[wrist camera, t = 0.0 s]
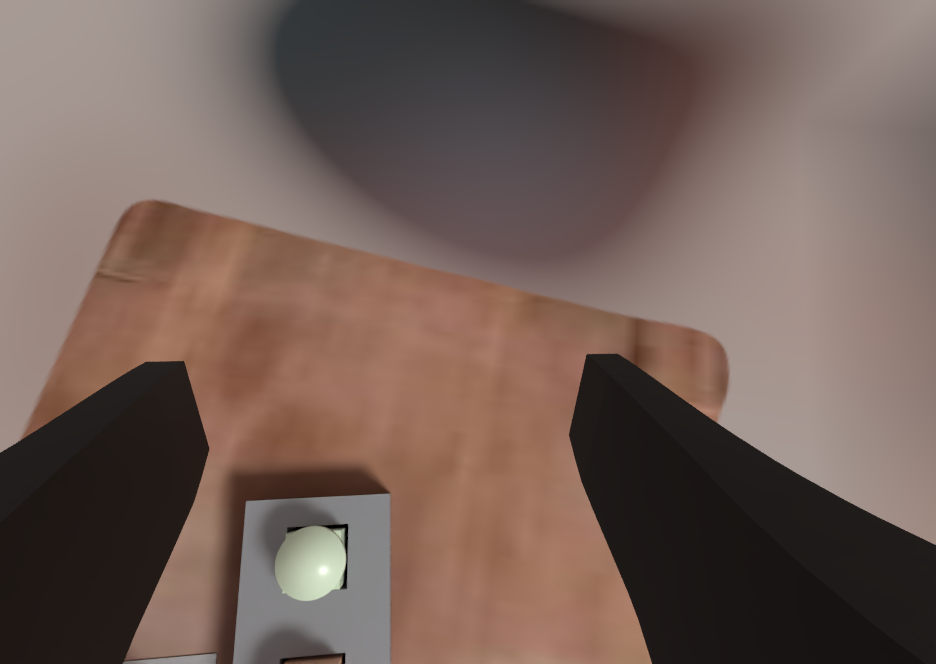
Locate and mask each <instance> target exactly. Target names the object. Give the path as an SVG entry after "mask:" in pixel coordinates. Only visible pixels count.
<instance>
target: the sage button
mask: <svg viewBox="0 0 936 664" xmlns="http://www.w3.org/2000/svg"><path fill="white" fill-rule="evenodd" d="M345 566H346V527H341V528H326V527H323V526H308V527H305V528H302V529H300V530H295V531H292V532H289V533H286V539H285V541H284V542H283V544H282V545H281V547H280V549H279V551H278V553H277V556H276V560H275V575H276V579H277V582H278V584H279V586H280V587H281V589H282V590H283V592H282V594H284V593H286V594H287V595H289V596H290V597H292V598H294V599H297V600H301V601H311V600H315V599H319V598H321V597H323V596H325V595H326V594H328V593H329V592H330V591H331V590H336V589H340V588H341V586H342V585H343V583H344V582H345Z"/></svg>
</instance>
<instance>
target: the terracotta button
mask: <svg viewBox="0 0 936 664" xmlns="http://www.w3.org/2000/svg"><path fill="white" fill-rule="evenodd" d="M284 664H343V653H336V654H325V655H314V656H303V657H292V658H288V659H287V660H286V662H285V663H284Z"/></svg>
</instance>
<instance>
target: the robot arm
mask: <svg viewBox="0 0 936 664" xmlns="http://www.w3.org/2000/svg"><path fill="white" fill-rule="evenodd" d="M569 437H570V441H571V445H572V448H573V452H574V456H575V460H576V464H577V467H578V471H579V474H580V477H581V481H582V484H583V486H584V489H585V491H586V494H587V496H588V498H589V501H590V503H591V506H592V508H593V511H594V513H595V515H596V518H597V520H598V523H599V525H600V527H601V530H602V532H603V534H604V537H605V539H606V541H607V544H608V546H609V549H610V551H611V553H612V556H613V558H614V560H615V563H616V565H617V567H618V570H619V572H620V574H621V577H622V579H623V582H624V584H625V586H626V589H627V591H628V593H629V596H630V599H631V601H632V604H633V607H634V609H635V612H636V615H637V617H638V620H639V623H640V626H641V629H642V633H643V636H644V639H645V642H646V645H647V648H648V652H649V655H650V658H651V661H652V664H936V545H934V544H932V543H930V542H928V541H926V540H924V539H922V538H920V537H918V536H915V535H913V534H911V533H909V532H907V531H905V530H903V529H901V528H899V527H897V526H895V525H893V524H891V523H889V522H887V521H885V520H882V519H880V518H878V517H876V516H874V515H872V514H871V513H869V512H867V511H865V510H863V509H861V508H859V507H857V506H855V505H853V504H851V503H849V502H847V501H845V500H844V499H842V498H840V497H838V496H836V495H835V494H833V493H831V492H829V491H827V490H826V489H824V488H822V487H820V486H818V485H817V484H815V483H813V482H811V481H809V480H807V479H806V478H804V477H802V476H800V475H799V474H797V473H795V472H793V471H792V470H790V469H788V468H787V467H785V466H783V465H782V464H780V463H778V462H777V461H775V460H773V459H772V458H770V457H768V456H767V455H765V454H764V453H762V452H761V451H759V450H757V449H756V448H754V447H753V446H751V445H750V444H748V443H747V442H745V441H743V440H742V439H740V438H739V437H737V436H735V435H734V434H733V433H731V432H730V431H728V430H726V429H725V428H724V427H722V426H721V425H719V424H718V423H716V422H715V421H713V420H712V419H710V418H709V417H707V416H706V415H705V414H703V413H702V412H700V411H699V410H697V409H696V408H695V407H693V406H692V405H690V404H689V403H687V402H686V401H685V400H683V399H682V398H680V397H679V396H678V395H676V394H675V393H673V392H672V391H671V390H669V389H668V388H667V387H665V386H664V385H662V384H661V383H660V382H658V381H657V380H655V379H654V378H653V377H651V376H650V375H648V374H647V373H646V372H644V371H643V370H641V369H640V368H639V367H637V366H636V365H634V364H633V363H631V362H630V361H628V360H627V359H625V358H623V357H622V356H620V355H619V354H587V355H586V360H585V364H584V369H583V373H582V378H581V382H580V387H579V392H578V396H577V401H576V405H575V410H574V414H573V419H572V424H571V428H570V433H569ZM208 452H209V446H208V442H207V439H206V435H205V432H204V429H203V425H202V422H201V418H200V415H199V411H198V408H197V404H196V401H195V397H194V394H193V391H192V387H191V384H190V380H189V377H188V373H187V370H186V366H185V363H184V361H169V362H145V363H143V364H141V365H139V366H138V367H136V368H134V369H132V370H131V371H129V372H127V373H126V374H124V375H122V376H121V377H119V378H117V379H116V380H114V381H113V382H111V383H110V384H108V385H106V386H105V387H103V388H102V389H100V390H99V391H97V392H95V393H94V394H92V395H91V396H89V397H88V398H86V399H85V400H83V401H82V402H80V403H78V404H77V405H75V406H74V407H72V408H71V409H69V410H68V411H66V412H64V413H63V414H61V415H60V416H58V417H57V418H55V419H54V420H52V421H50V422H49V423H47V424H46V425H44V426H43V427H41V428H39V429H38V430H36V431H35V432H33V433H32V434H30V435H29V436H27V437H25V438H24V439H22V440H21V441H19V442H18V443H16V444H15V445H13V446H11V447H9V448H8V449H6V450H4V451H3V452H1V453H0V664H123V662H124V659H125V657H126V654H127V652H128V650H129V647H130V645H131V642H132V640H133V637H134V635H135V632H136V630H137V628H138V626H139V624H140V621H141V619H142V617H143V615H144V613H145V610H146V608H147V606H148V604H149V601H150V599H151V597H152V595H153V593H154V590H155V588H156V586H157V584H158V582H159V579H160V577H161V575H162V573H163V571H164V568H165V566H166V564H167V562H168V559H169V557H170V555H171V553H172V551H173V548H174V546H175V544H176V542H177V539H178V537H179V535H180V533H181V530H182V528H183V526H184V524H185V521H186V519H187V517H188V515H189V512H190V510H191V508H192V505H193V503H194V500H195V497H196V494H197V490H198V487H199V484H200V481H201V477H202V474H203V470H204V467H205V463H206V459H207V456H208Z"/></svg>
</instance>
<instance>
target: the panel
mask: <svg viewBox="0 0 936 664" xmlns="http://www.w3.org/2000/svg"><path fill="white" fill-rule="evenodd" d="M337 524H348V565H347V582H344V583H343V585H342V586H341V588H340V589H336V590H331V591H330V592H329V593H328V594H326V595H325V596H323V597H321V598H319V599H315V600H311V601H301V600H297V599H294V598H292V597H290V596H289V595H287V594H286V593H284V594H282V592H283V590H282V589H281V587H280V586H279V584H278V582H277V579H276V575H275V560H276V556H277V553H278V551H279V549H280V547H281V545H282V544H283V542H284V541H285V539H286V533H289V532H292V531H295V530H296V527H303V526H320V525H337ZM336 653H346V657H345V664H391V494H372V495H353V496H333V497H314V498H295V499H276V500H257V501H246V508H245V520H244V533H243V545H242V558H241V570H240V583H239V595H238V607H237V620H236V632H235V645H234V657H233V664H284V663H285V662H286V660H287V659H288V658H292V657H303V656H314V655H325V654H336Z"/></svg>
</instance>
